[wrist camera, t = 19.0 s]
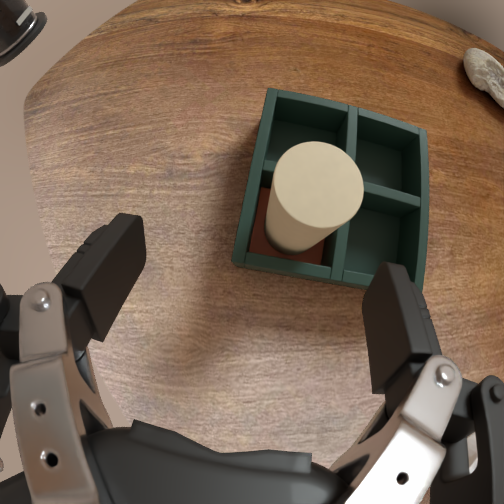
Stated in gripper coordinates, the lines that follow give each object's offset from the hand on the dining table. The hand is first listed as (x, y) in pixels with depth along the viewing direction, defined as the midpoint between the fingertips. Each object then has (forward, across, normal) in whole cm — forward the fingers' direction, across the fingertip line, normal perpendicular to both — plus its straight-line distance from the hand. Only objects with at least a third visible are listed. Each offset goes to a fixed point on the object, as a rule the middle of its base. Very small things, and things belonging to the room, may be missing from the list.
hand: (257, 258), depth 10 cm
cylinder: (+11, -2, +6) cm, 13 cm away
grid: (+14, -5, +4) cm, 16 cm away
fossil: (+31, -27, -13) cm, 43 cm away
